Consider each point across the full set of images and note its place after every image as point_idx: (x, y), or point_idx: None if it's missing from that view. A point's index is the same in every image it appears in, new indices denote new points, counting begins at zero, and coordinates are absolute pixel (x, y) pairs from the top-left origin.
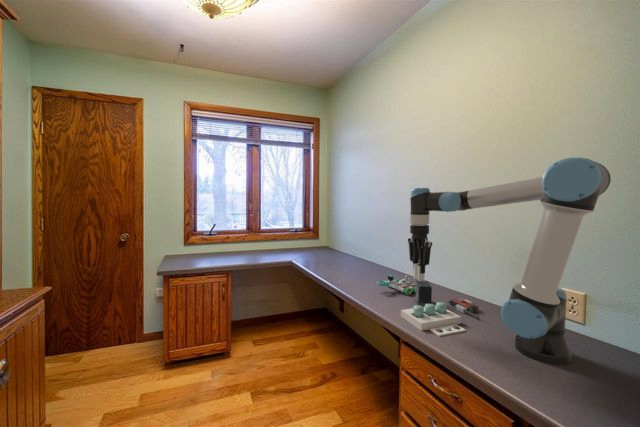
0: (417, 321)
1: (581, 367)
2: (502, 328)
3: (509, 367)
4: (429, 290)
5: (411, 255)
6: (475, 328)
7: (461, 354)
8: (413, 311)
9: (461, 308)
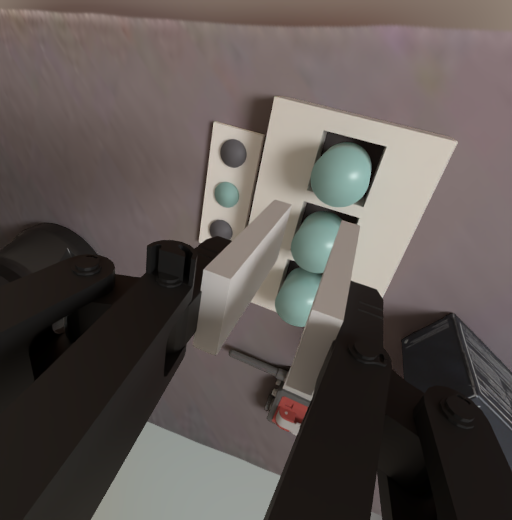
0: (303, 103)
1: None
2: None
3: (33, 133)
4: None
5: (450, 515)
6: None
7: (105, 72)
8: (360, 150)
9: None
